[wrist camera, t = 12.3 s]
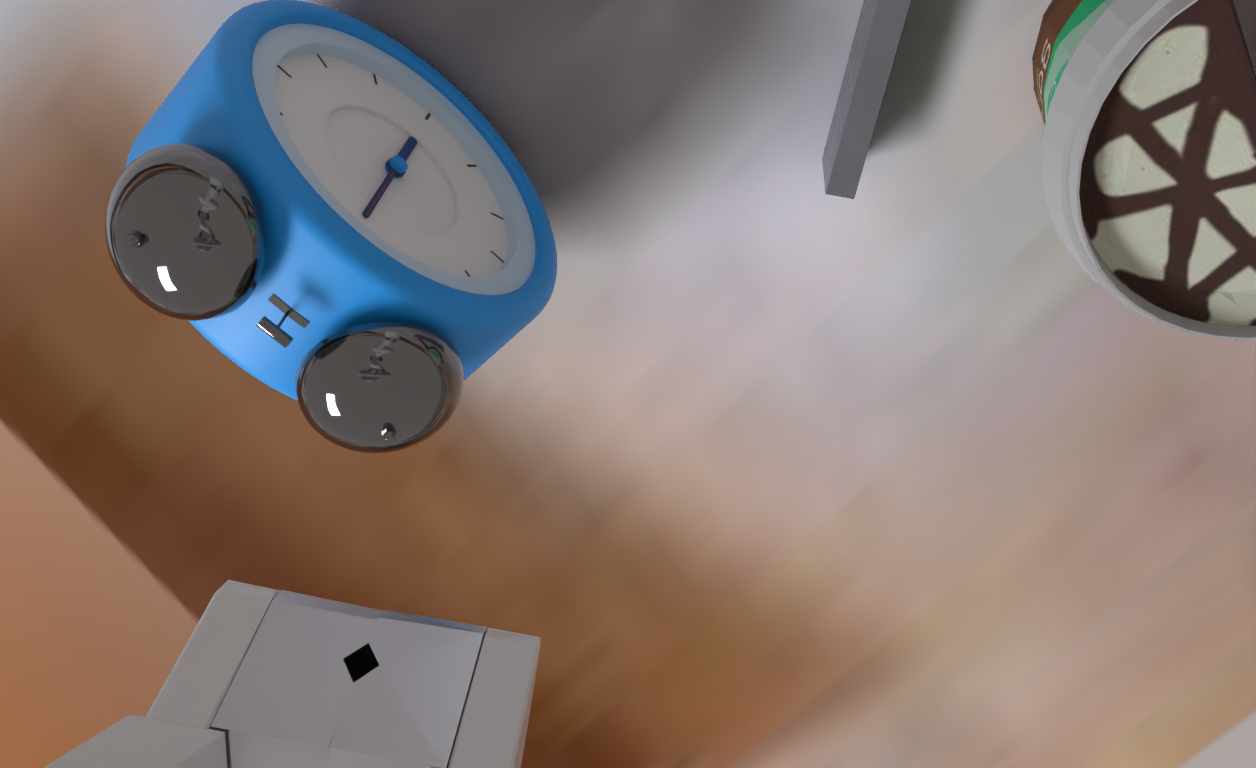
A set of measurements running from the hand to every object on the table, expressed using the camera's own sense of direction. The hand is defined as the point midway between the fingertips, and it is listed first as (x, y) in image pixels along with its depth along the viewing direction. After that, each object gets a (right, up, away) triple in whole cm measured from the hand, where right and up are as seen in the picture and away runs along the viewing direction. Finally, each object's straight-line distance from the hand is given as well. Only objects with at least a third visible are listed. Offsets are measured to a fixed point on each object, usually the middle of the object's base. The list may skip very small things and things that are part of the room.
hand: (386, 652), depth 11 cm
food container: (+18, +13, +29) cm, 37 cm away
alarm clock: (-6, +12, +33) cm, 36 cm away
